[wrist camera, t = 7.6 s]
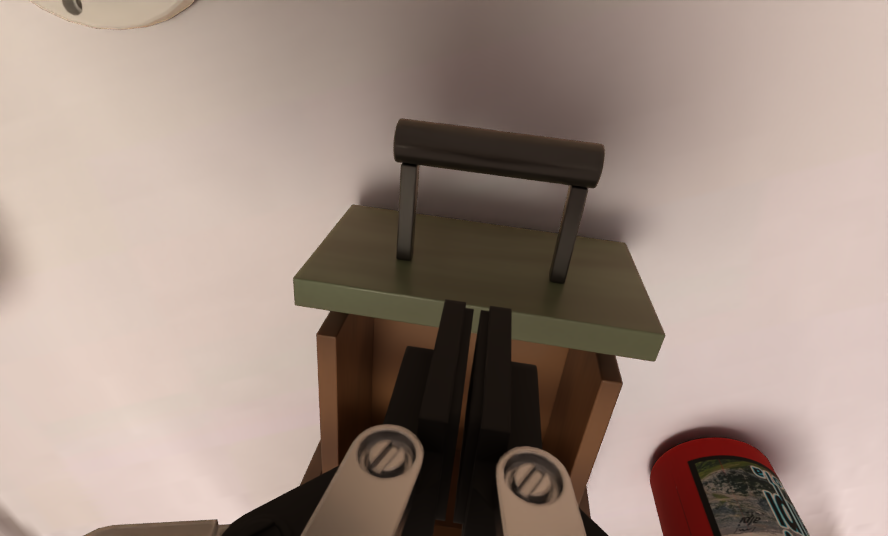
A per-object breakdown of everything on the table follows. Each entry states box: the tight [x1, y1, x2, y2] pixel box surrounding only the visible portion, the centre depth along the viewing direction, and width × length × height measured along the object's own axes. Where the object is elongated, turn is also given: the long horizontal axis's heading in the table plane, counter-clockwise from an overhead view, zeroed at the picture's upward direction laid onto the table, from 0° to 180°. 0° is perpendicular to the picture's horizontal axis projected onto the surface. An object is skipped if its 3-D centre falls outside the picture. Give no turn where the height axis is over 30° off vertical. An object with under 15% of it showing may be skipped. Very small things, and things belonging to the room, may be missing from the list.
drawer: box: [293, 118, 665, 529], centre depth 22 cm, size 20×13×7 cm, turn 175°
